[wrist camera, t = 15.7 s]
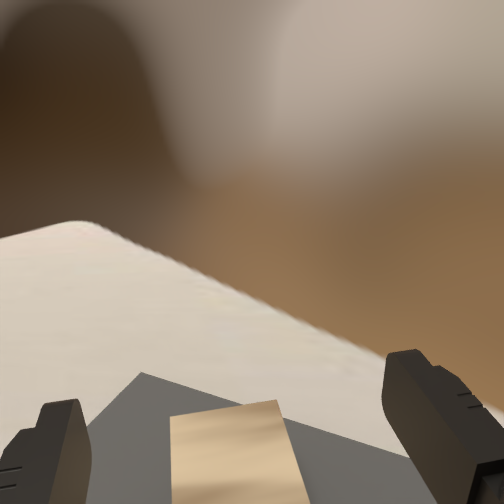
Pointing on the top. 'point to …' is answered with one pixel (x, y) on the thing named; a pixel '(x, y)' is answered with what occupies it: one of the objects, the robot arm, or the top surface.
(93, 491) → the rubber mat
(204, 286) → the top surface
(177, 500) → the beech block
